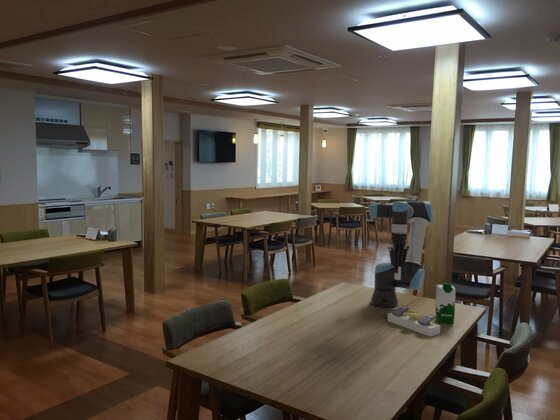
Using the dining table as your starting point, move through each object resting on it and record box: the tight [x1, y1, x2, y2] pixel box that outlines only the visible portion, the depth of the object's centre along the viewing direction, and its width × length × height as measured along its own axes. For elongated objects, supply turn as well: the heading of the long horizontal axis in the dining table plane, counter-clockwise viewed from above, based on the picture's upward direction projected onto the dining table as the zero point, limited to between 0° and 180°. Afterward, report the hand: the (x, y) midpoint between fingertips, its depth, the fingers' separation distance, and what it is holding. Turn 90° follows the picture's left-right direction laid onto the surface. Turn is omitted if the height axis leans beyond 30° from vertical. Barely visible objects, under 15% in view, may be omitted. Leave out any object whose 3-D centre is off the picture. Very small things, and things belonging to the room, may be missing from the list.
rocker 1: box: [391, 305, 410, 316], centre depth 234 cm, size 8×4×1 cm, turn 124°
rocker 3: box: [418, 313, 437, 325], centre depth 220 cm, size 8×4×1 cm, turn 124°
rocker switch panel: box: [379, 311, 441, 338], centre depth 231 cm, size 7×34×5 cm, turn 34°
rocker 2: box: [404, 311, 423, 319], centre depth 227 cm, size 8×4×1 cm, turn 124°
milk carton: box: [435, 282, 457, 325], centre depth 236 cm, size 9×9×20 cm
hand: (397, 279), depth 234 cm, fingers closed
